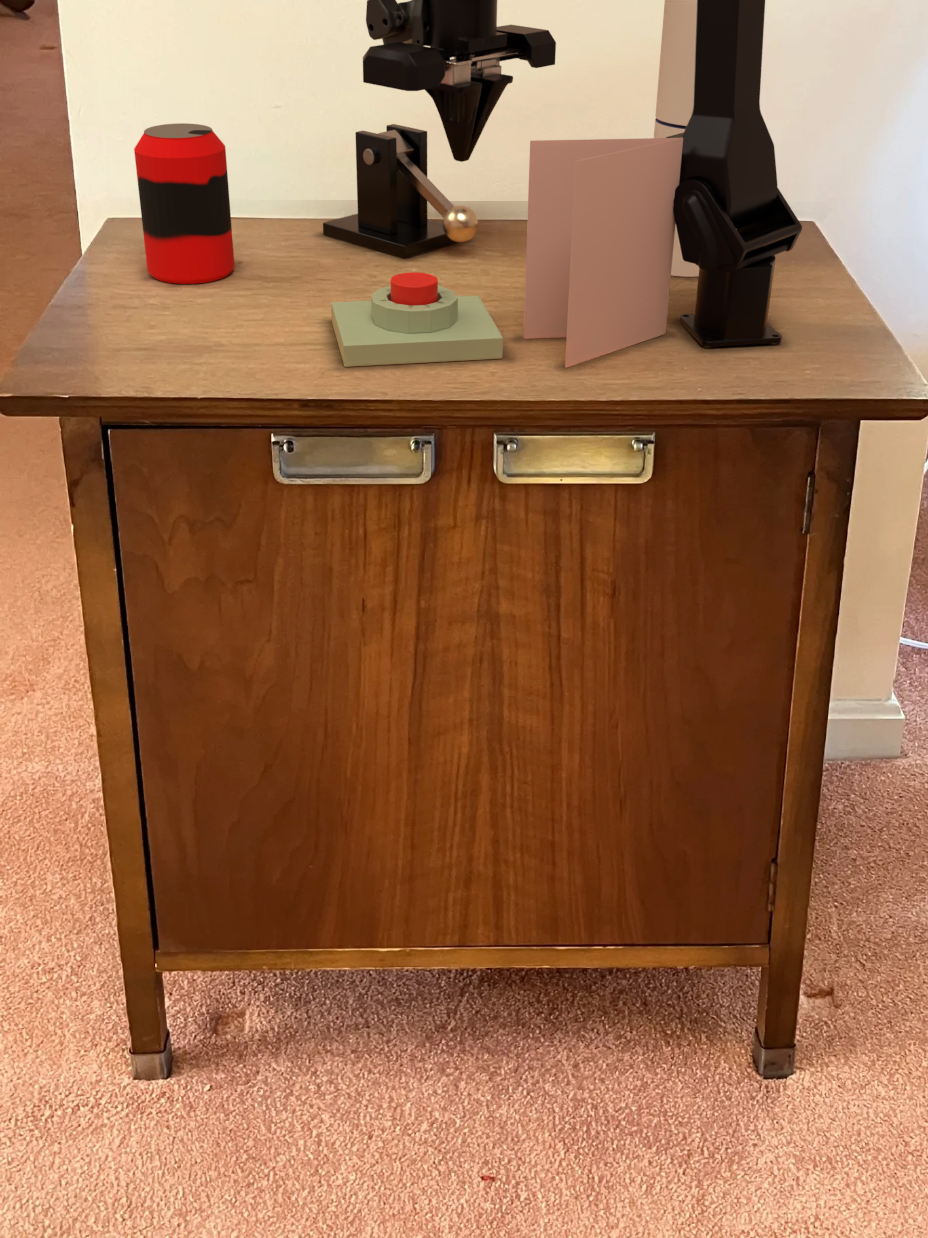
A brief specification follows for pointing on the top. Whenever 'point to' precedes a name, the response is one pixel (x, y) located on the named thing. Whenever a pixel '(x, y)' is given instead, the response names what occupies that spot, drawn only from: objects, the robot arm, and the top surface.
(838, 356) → the top surface
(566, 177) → the greeting card
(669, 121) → the cylindrical container
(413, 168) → the lever
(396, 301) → the button
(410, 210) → the switch bracket
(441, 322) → the button housing
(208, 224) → the soda can
